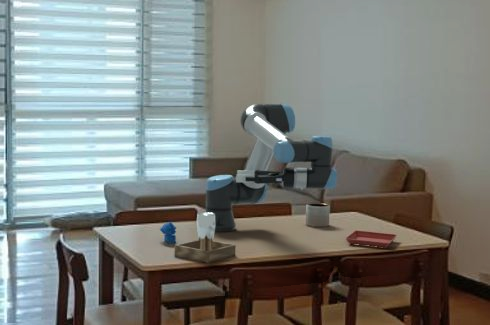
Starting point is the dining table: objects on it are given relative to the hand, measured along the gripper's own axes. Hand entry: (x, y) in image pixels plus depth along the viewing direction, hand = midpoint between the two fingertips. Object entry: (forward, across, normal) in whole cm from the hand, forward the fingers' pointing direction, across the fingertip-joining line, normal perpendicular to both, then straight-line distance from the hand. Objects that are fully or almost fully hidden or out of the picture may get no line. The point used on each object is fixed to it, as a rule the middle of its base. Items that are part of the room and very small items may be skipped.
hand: (236, 176), depth 279 cm
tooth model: (+11, -1, -29) cm, 31 cm away
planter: (-36, +68, -30) cm, 82 cm away
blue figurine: (+27, +22, -30) cm, 46 cm away
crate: (+11, -1, -30) cm, 32 cm away
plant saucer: (-56, +31, -31) cm, 71 cm away
